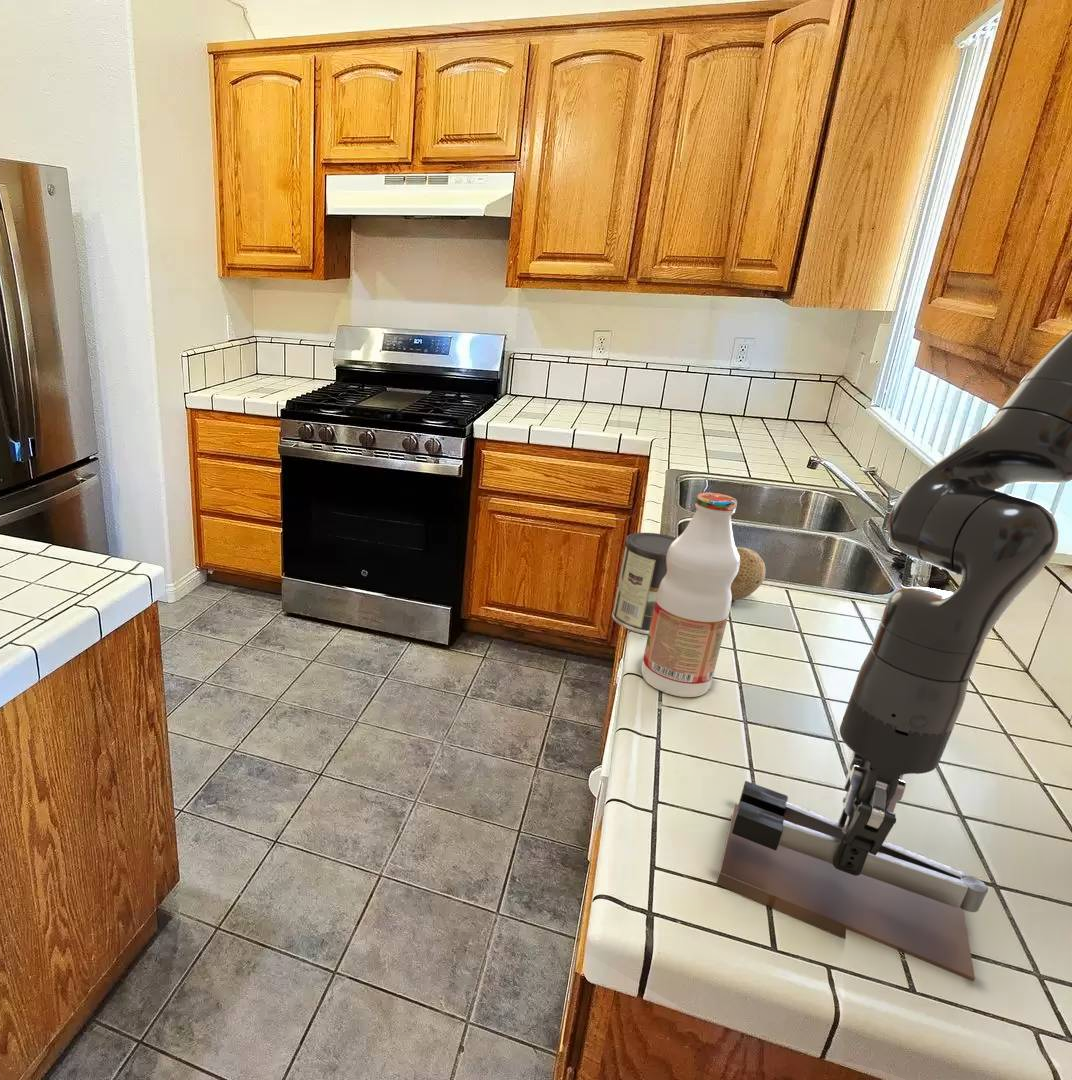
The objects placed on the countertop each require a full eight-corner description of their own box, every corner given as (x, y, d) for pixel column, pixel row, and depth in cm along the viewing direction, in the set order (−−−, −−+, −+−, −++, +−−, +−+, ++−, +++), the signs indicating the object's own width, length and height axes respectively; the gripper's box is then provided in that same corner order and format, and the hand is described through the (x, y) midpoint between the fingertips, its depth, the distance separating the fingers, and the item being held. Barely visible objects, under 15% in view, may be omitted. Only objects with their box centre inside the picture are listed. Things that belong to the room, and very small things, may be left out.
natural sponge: (728, 612, 131) (741, 560, 128) (691, 591, 139) (703, 541, 135) (768, 607, 134) (782, 555, 130) (729, 586, 142) (742, 537, 138)
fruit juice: (660, 700, 104) (704, 509, 94) (628, 665, 113) (665, 486, 102) (723, 697, 105) (773, 509, 95) (686, 663, 114) (728, 486, 104)
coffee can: (679, 617, 129) (697, 540, 124) (671, 641, 120) (689, 560, 115) (617, 601, 133) (632, 527, 128) (605, 624, 125) (620, 545, 120)
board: (954, 897, 74) (959, 885, 73) (969, 991, 64) (975, 978, 64) (732, 814, 83) (735, 803, 83) (716, 884, 74) (719, 872, 73)
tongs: (731, 833, 75) (737, 814, 74) (740, 798, 80) (745, 780, 79) (982, 932, 65) (992, 912, 64) (974, 886, 70) (984, 866, 69)
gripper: (853, 658, 74) (805, 799, 80) (851, 728, 62) (796, 886, 69) (947, 683, 70) (889, 829, 76) (963, 763, 59) (894, 926, 65)
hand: (845, 855), depth 72 cm, fingers closed on tongs, 3 cm apart
